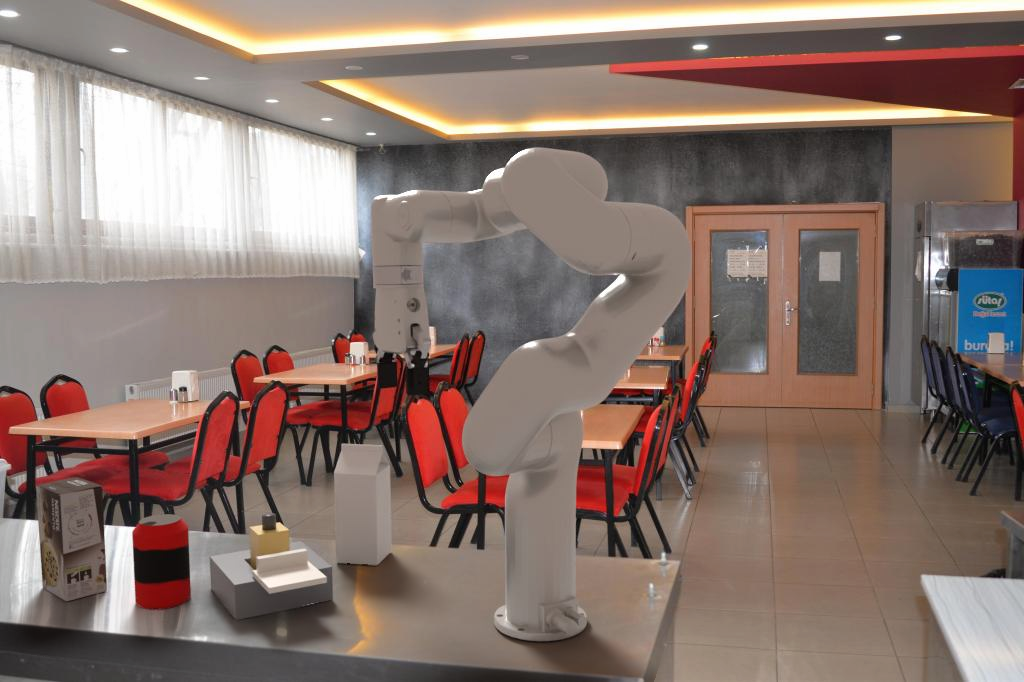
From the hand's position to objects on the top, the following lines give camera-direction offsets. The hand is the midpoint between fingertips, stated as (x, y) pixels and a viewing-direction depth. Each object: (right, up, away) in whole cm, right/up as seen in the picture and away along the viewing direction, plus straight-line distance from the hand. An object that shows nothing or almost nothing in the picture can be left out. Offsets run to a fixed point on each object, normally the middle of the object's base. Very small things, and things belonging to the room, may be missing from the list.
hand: (401, 390), depth 143 cm
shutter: (-14, -26, -12) cm, 32 cm away
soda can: (-34, -30, -6) cm, 46 cm away
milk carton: (-8, -28, +12) cm, 32 cm away
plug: (-19, -30, -4) cm, 35 cm away
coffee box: (-49, -30, -1) cm, 57 cm away
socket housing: (-19, -30, -4) cm, 36 cm away
